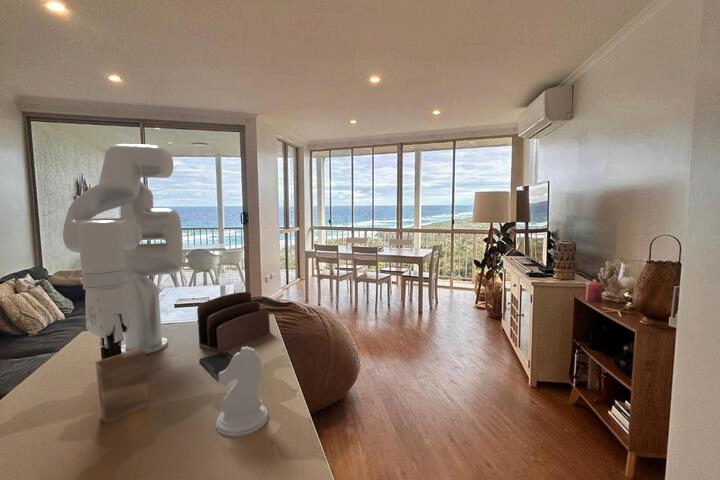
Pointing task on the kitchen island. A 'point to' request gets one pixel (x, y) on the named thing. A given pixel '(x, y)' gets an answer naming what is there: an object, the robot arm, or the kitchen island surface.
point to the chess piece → (242, 395)
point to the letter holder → (230, 321)
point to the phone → (216, 363)
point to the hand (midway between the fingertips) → (112, 363)
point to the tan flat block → (122, 384)
